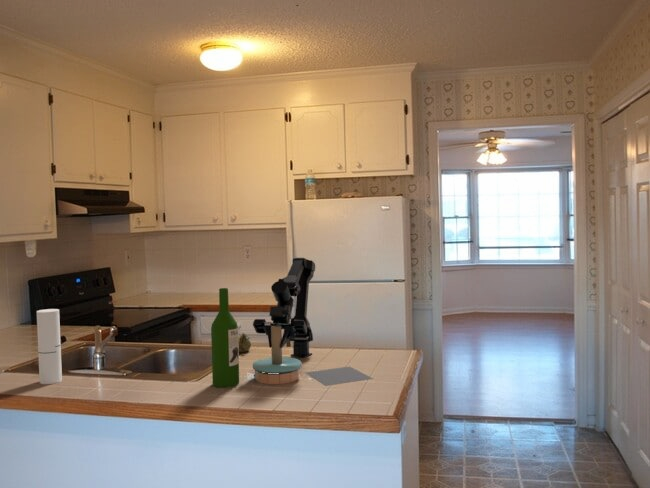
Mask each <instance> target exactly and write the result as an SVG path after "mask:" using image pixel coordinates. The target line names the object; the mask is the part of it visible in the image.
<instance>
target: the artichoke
mask: <svg viewBox="0 0 650 488" xmlns="http://www.w3.org/2000/svg"><path fill="white" fill-rule="evenodd" d="M250 338H251V337H250V336H249V335H248V334H247V333H243V332H242V333H241V335H238V347H239V352H240V353H245V352H248V351H249V350H251V347H252V343H251V341H250V340H251V339H250Z"/></svg>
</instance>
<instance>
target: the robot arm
mask: <svg viewBox="0 0 650 488" xmlns="http://www.w3.org/2000/svg"><path fill="white" fill-rule="evenodd" d="M315 272H316V263H315V262H314V261H313V260H311V259H307V258H305V257H293V258H292V263H291V266H290V269H289V271H288V273H287V275H286V276H285V277H283V278H278V280H277V281H276V282H274V283H273V284H272V285H271V287H270V288H271V292H272V294H273V298H274V300H275V301H276V302H277V304H276V305H274V306H270V307H269V317H270V320H271V321H266V318H255V319H254V320H253V322H252V327H253V329H254V331H255V332H256V333H257V334H265V336H267V338H268V339H267V340H268V345H269V348H270V349H272V348H271V326H275V325H279V326H281V330H283V333H282V334H283V335H282V340H281V345H280V347H281V348H282V349H283V347H285V345H286V344H287V343H288V341H289V342H293V348H292V350H293V351H292V352H293V353H291V354H290V356H291V357H293V358H294V357H296V358H302V359H304V358H306V357H309V356H311V355H313V352H310V342H313V341H314V334H313V331H312V328H311V325H310V324H311V323H310V321H309V320H308V319H309V318H308V317H307V315H308V314H307V313H308V300H309V299H308V298H309V287H310V282H311V280H312V279H313V278H314V273H315ZM294 297H296V300H294ZM295 301H296V302H295ZM294 302H295V303H296V304H295V314H294V316H293V317H292V311H293V307H294Z"/></svg>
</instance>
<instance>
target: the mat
mask: <svg viewBox="0 0 650 488" xmlns="http://www.w3.org/2000/svg"><path fill="white" fill-rule="evenodd" d="M305 374H306V375H308V376H309V377H311V378H313V379H314V380H316V381H317V382H318V383H321V384H322V385H323V386H325V387H328V386H333V385H341V384H345V383H346V384H347V383H353V382H361V381H366V380H367V381H368V380H374V378H373V377H371V376H370V375H367V374H365V373H364V372H361V371H360V370H357V369H356V368H353V367H351V366H345V367H335V368H331V369H330V368H329V369H322V370H315V371H313V370H312V371H306V372H305Z"/></svg>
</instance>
